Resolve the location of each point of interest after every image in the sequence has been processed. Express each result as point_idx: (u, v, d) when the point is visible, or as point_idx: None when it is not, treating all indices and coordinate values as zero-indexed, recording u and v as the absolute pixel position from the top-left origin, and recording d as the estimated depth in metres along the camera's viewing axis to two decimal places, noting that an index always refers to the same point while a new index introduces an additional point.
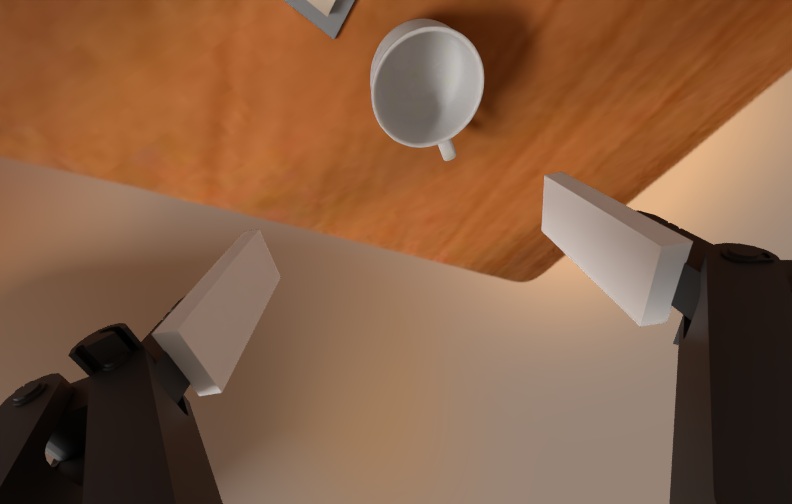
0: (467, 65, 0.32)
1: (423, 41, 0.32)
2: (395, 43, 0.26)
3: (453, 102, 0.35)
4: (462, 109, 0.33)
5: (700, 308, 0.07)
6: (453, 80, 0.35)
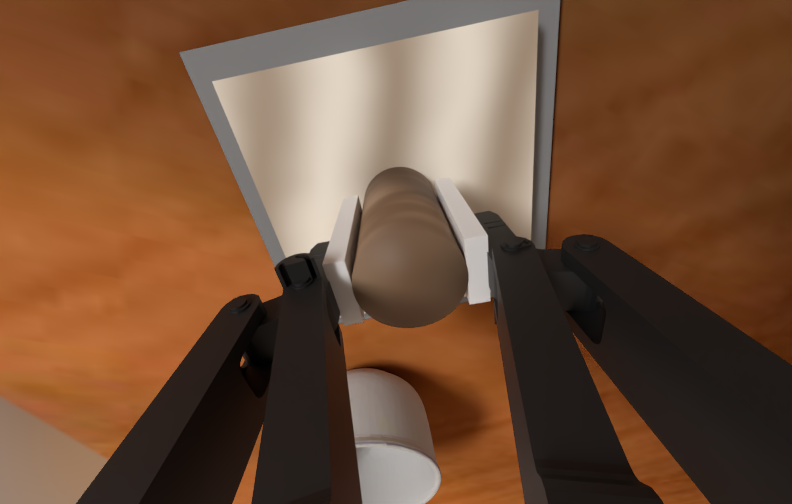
0: None
1: None
2: (367, 446, 0.19)
3: (380, 453, 0.28)
4: (385, 485, 0.26)
5: (498, 295, 0.08)
6: None
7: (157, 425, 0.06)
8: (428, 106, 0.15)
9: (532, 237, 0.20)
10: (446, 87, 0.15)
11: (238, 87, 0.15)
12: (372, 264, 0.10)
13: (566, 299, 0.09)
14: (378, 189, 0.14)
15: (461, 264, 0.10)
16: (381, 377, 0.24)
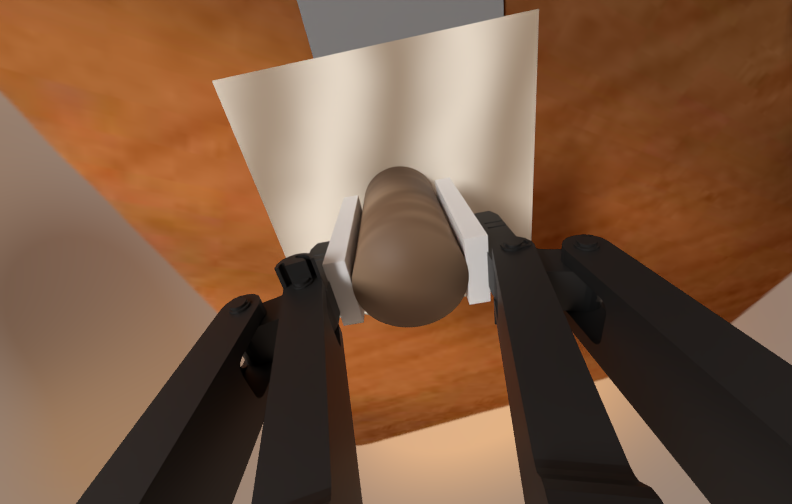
0: None
1: None
2: None
3: None
4: None
5: (498, 294, 0.08)
6: None
7: (157, 425, 0.06)
8: (428, 105, 0.15)
9: None
10: (446, 86, 0.15)
11: (238, 86, 0.15)
12: (372, 263, 0.10)
13: (565, 299, 0.09)
14: (378, 188, 0.14)
15: (461, 263, 0.10)
16: None
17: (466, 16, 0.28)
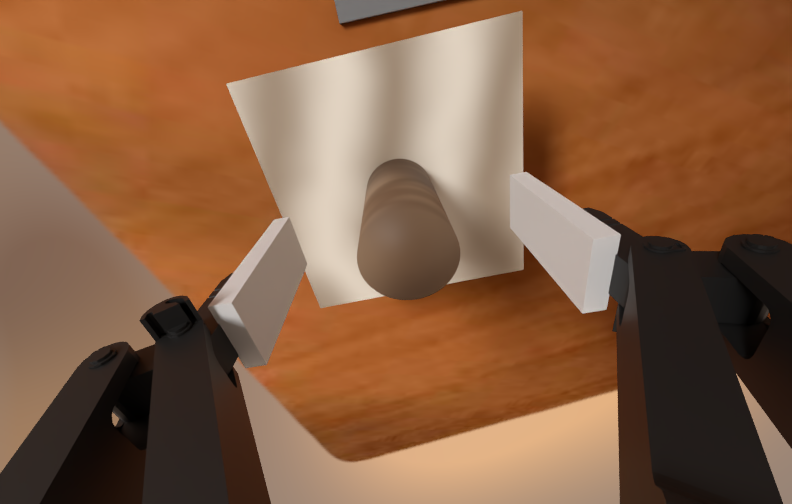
0: None
1: None
2: None
3: None
4: None
5: (630, 298, 0.07)
6: None
7: None
8: (423, 102, 0.17)
9: None
10: (440, 84, 0.16)
11: (250, 88, 0.16)
12: (375, 241, 0.12)
13: (726, 310, 0.08)
14: (379, 178, 0.16)
15: (453, 239, 0.12)
16: None
17: None
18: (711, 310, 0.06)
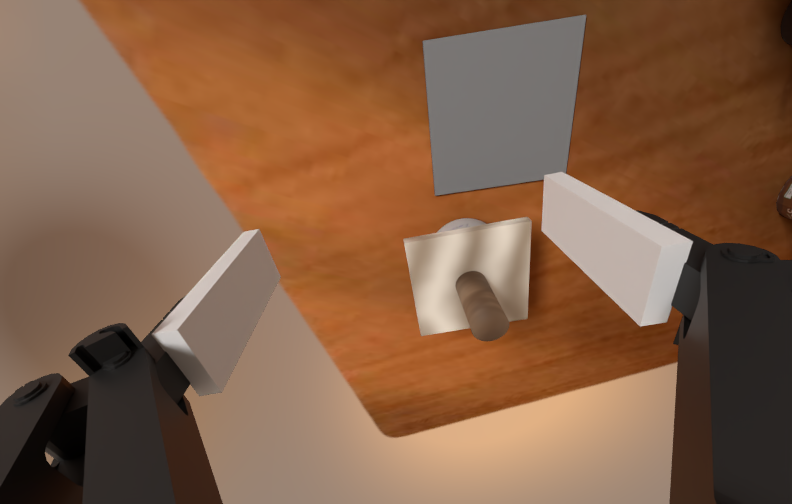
0: None
1: None
2: None
3: None
4: None
5: (700, 308, 0.07)
6: None
7: None
8: (487, 250, 0.38)
9: (563, 143, 0.41)
10: (495, 244, 0.37)
11: (413, 245, 0.37)
12: (479, 321, 0.33)
13: None
14: (469, 286, 0.37)
15: (507, 321, 0.33)
16: (479, 220, 0.43)
17: (549, 88, 0.37)
18: None
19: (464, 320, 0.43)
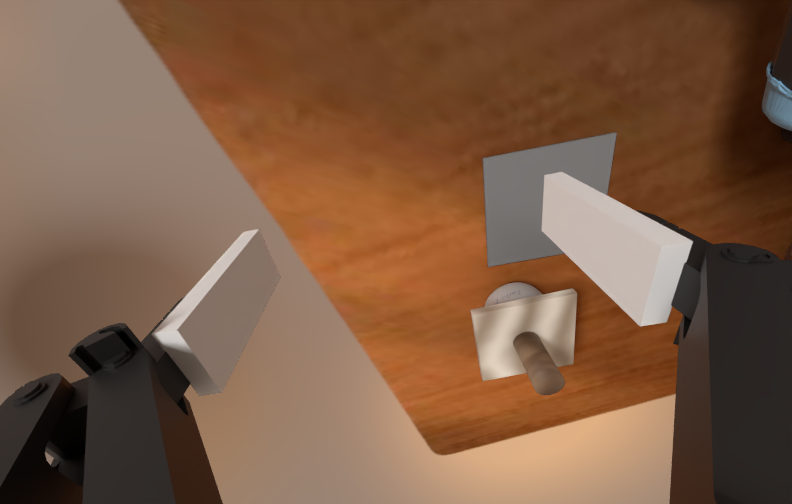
0: None
1: None
2: None
3: None
4: None
5: (700, 308, 0.07)
6: None
7: None
8: (540, 316, 0.46)
9: None
10: (546, 311, 0.46)
11: (480, 315, 0.46)
12: (541, 382, 0.41)
13: None
14: (527, 347, 0.45)
15: (563, 380, 0.41)
16: (527, 284, 0.52)
17: None
18: None
19: (519, 367, 0.51)
